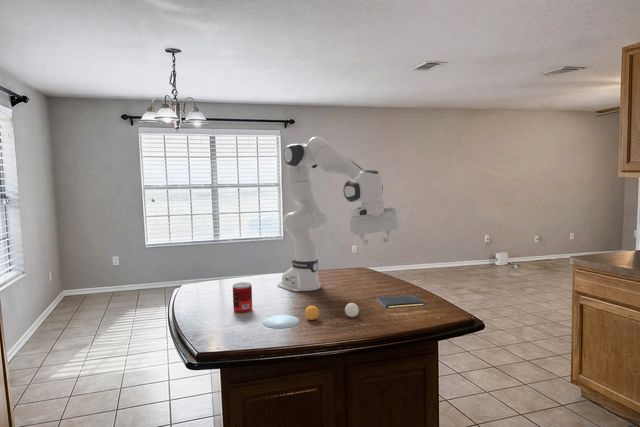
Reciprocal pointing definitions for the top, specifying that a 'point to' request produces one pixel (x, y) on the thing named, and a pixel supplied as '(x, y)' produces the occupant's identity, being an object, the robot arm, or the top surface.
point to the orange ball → (311, 312)
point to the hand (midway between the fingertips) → (375, 243)
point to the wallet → (400, 301)
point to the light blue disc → (281, 321)
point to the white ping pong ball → (351, 309)
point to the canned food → (242, 297)
